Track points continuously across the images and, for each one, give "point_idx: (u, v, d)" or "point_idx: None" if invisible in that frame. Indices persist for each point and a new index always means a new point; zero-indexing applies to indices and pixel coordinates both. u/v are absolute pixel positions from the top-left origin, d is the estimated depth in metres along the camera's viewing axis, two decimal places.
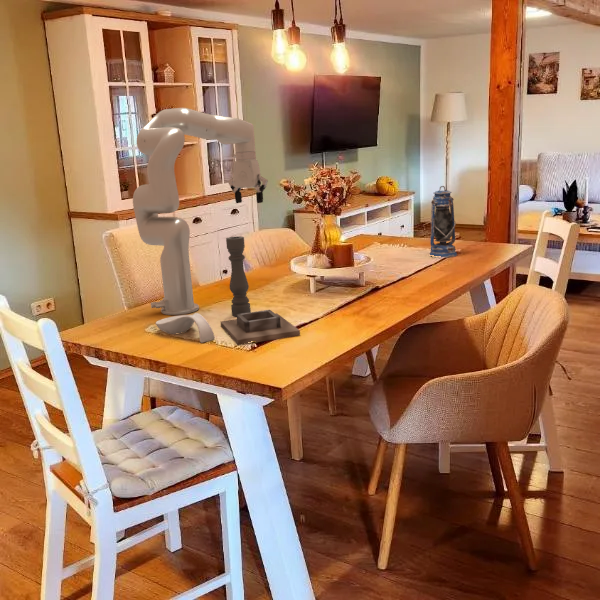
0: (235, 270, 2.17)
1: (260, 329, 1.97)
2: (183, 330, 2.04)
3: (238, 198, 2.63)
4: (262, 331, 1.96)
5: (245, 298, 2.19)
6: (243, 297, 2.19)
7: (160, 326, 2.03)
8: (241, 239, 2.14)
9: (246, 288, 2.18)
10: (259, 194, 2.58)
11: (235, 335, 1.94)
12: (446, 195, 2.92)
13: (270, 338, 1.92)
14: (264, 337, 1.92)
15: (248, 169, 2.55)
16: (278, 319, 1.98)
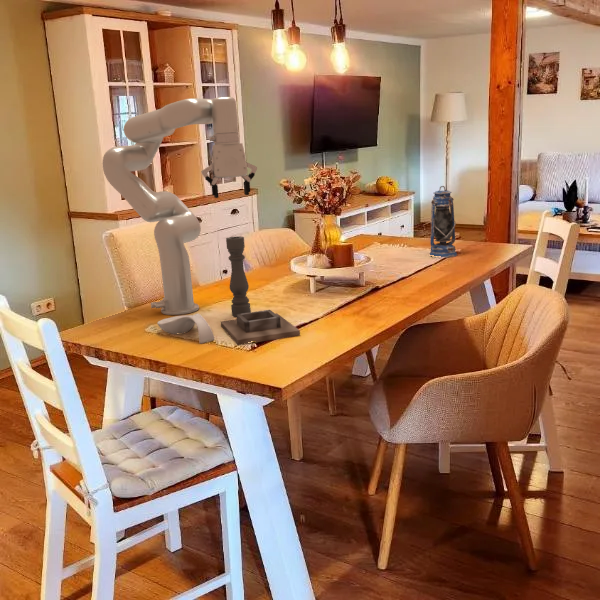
0: (235, 270, 2.17)
1: (260, 329, 1.97)
2: (184, 330, 2.04)
3: None
4: (262, 331, 1.96)
5: (245, 298, 2.19)
6: (243, 297, 2.19)
7: (161, 326, 2.03)
8: (241, 239, 2.14)
9: (246, 288, 2.18)
10: (248, 184, 2.13)
11: (235, 335, 1.94)
12: (446, 195, 2.92)
13: (270, 338, 1.92)
14: (264, 337, 1.92)
15: (238, 154, 2.08)
16: (278, 319, 1.98)
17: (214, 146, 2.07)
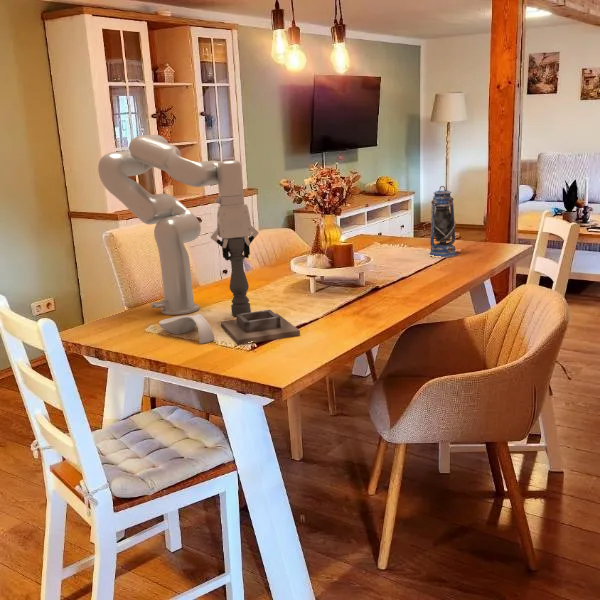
0: (235, 270, 2.17)
1: (260, 329, 1.97)
2: (185, 330, 2.04)
3: None
4: (262, 331, 1.96)
5: (245, 298, 2.19)
6: (243, 297, 2.19)
7: (162, 326, 2.03)
8: (241, 239, 2.14)
9: (246, 288, 2.18)
10: (248, 247, 2.17)
11: (235, 335, 1.94)
12: (446, 195, 2.92)
13: (270, 338, 1.92)
14: (264, 337, 1.92)
15: (243, 215, 2.13)
16: (278, 319, 1.98)
17: (219, 208, 2.11)
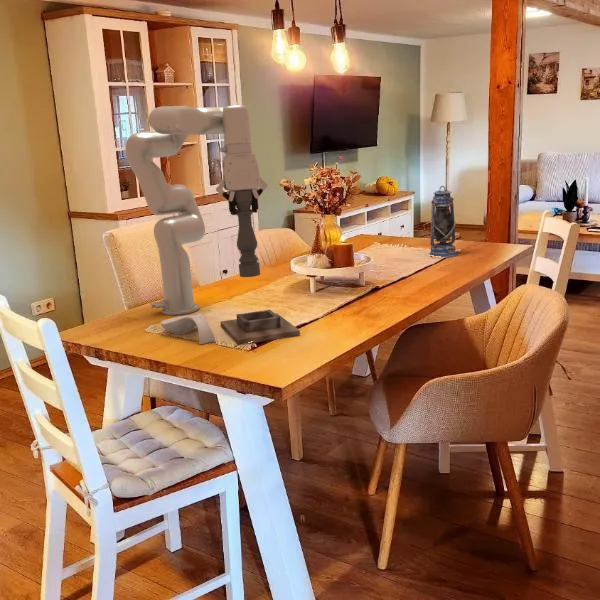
0: (243, 226, 2.00)
1: (260, 329, 1.97)
2: (187, 331, 2.04)
3: None
4: (262, 331, 1.96)
5: (254, 256, 2.03)
6: (252, 255, 2.02)
7: (164, 326, 2.03)
8: (249, 191, 1.98)
9: (255, 245, 2.02)
10: (256, 201, 2.01)
11: (235, 335, 1.94)
12: (446, 195, 2.92)
13: (270, 338, 1.92)
14: (264, 337, 1.92)
15: (251, 165, 1.96)
16: (278, 319, 1.98)
17: (225, 157, 1.95)
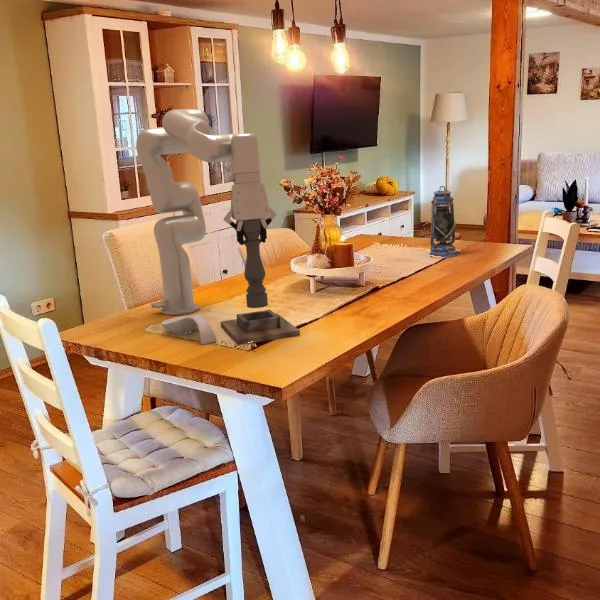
0: (251, 256, 1.95)
1: (260, 329, 1.97)
2: (188, 331, 2.03)
3: None
4: (262, 331, 1.96)
5: (261, 287, 1.98)
6: (259, 286, 1.98)
7: (165, 326, 2.03)
8: (257, 221, 1.93)
9: (263, 276, 1.97)
10: (265, 231, 1.96)
11: (235, 335, 1.94)
12: (446, 195, 2.92)
13: (270, 338, 1.92)
14: (264, 337, 1.92)
15: (260, 195, 1.91)
16: (278, 319, 1.98)
17: (234, 187, 1.90)
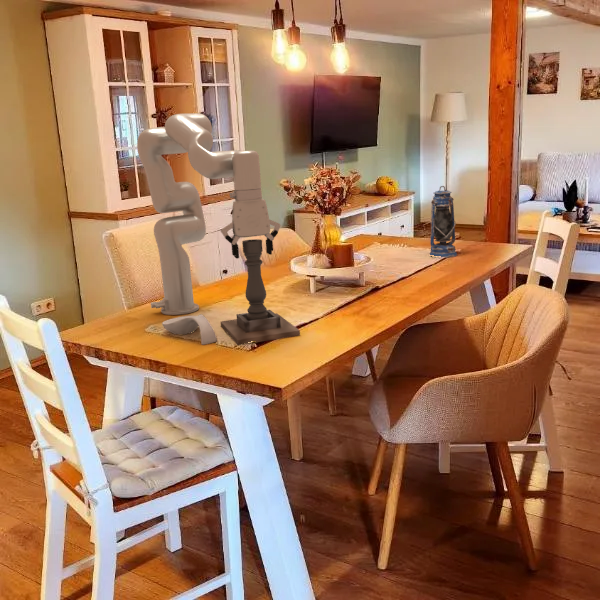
0: (252, 277, 1.97)
1: (260, 329, 1.97)
2: (188, 331, 2.03)
3: None
4: (262, 331, 1.96)
5: (262, 307, 2.00)
6: (260, 306, 1.99)
7: (166, 326, 2.03)
8: (259, 242, 1.95)
9: (264, 296, 1.99)
10: (271, 243, 1.97)
11: (235, 335, 1.94)
12: (446, 195, 2.92)
13: (270, 338, 1.92)
14: (264, 337, 1.92)
15: (261, 211, 1.93)
16: (278, 319, 1.98)
17: (235, 203, 1.91)
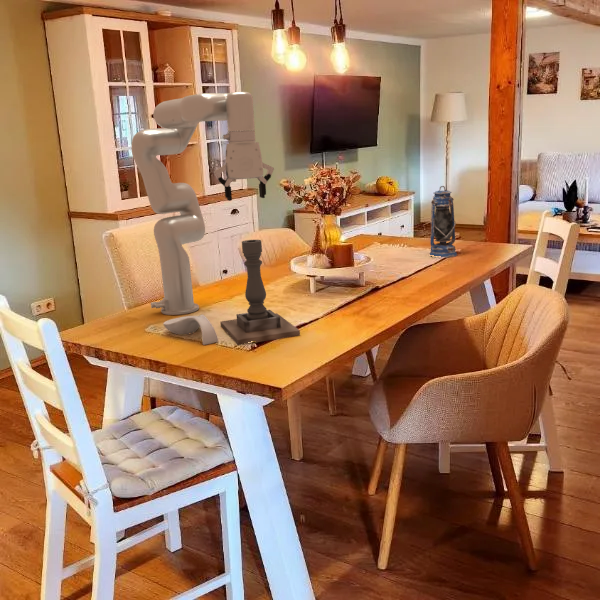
0: (251, 277, 1.97)
1: (260, 329, 1.97)
2: (190, 331, 2.03)
3: None
4: (262, 331, 1.96)
5: (262, 307, 2.00)
6: (260, 306, 1.99)
7: (167, 326, 2.02)
8: (258, 243, 1.95)
9: (263, 296, 1.99)
10: (264, 186, 1.98)
11: (235, 335, 1.94)
12: (446, 195, 2.92)
13: (270, 338, 1.92)
14: (264, 337, 1.92)
15: (254, 154, 1.93)
16: (278, 319, 1.98)
17: (228, 145, 1.92)
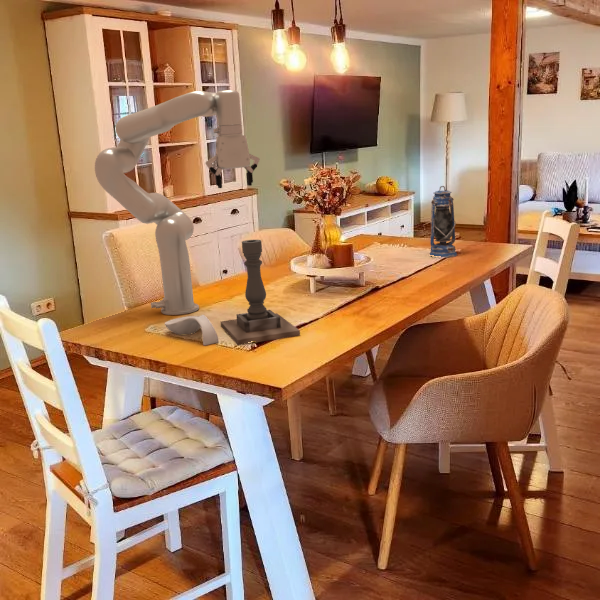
0: (251, 277, 1.97)
1: (260, 329, 1.97)
2: (191, 331, 2.03)
3: None
4: (262, 331, 1.96)
5: (262, 307, 2.00)
6: (260, 306, 1.99)
7: (168, 327, 2.02)
8: (258, 243, 1.95)
9: (263, 296, 1.99)
10: (251, 175, 2.20)
11: (235, 335, 1.94)
12: (446, 195, 2.92)
13: (270, 338, 1.92)
14: (264, 337, 1.92)
15: (241, 145, 2.15)
16: (278, 319, 1.98)
17: (218, 138, 2.13)
